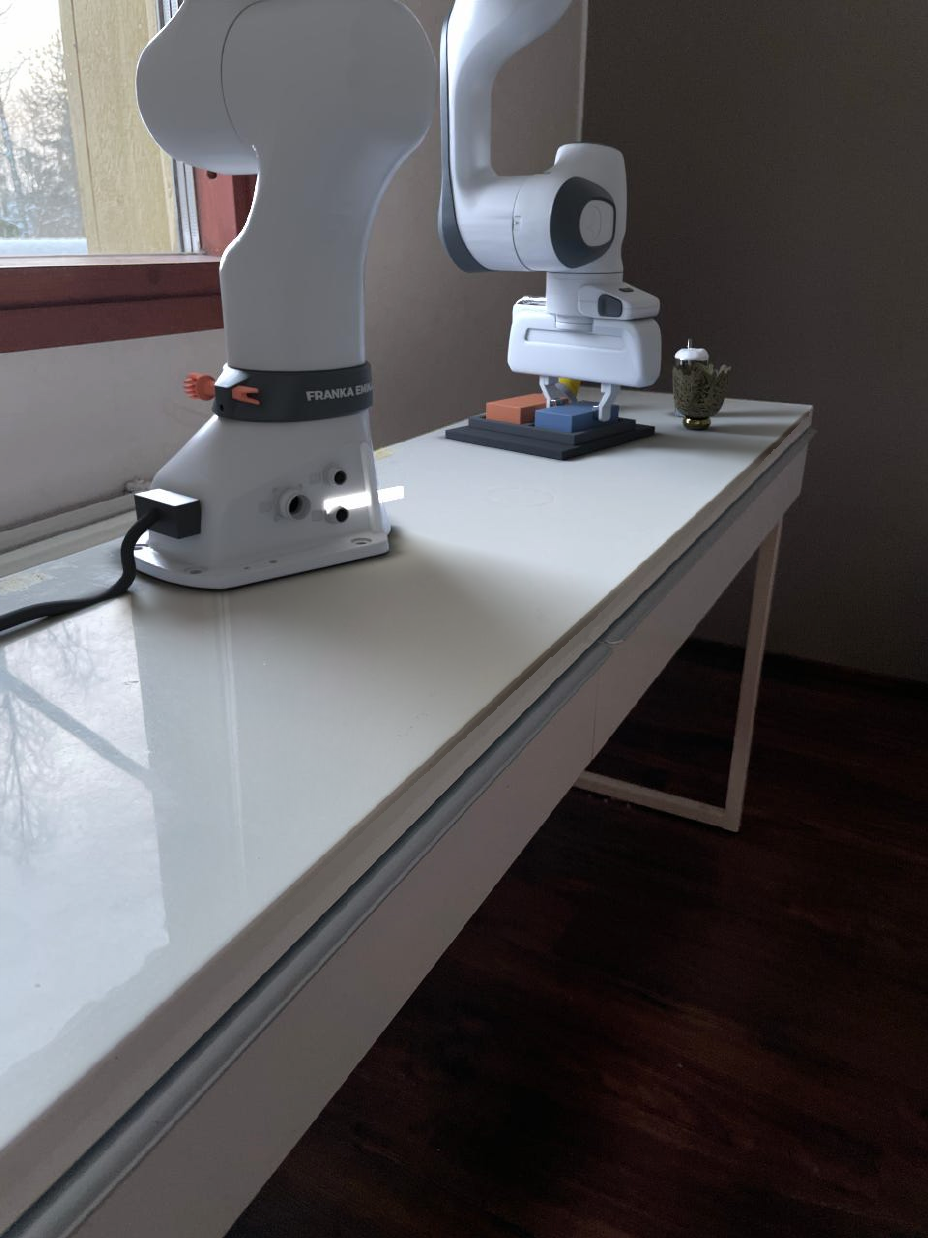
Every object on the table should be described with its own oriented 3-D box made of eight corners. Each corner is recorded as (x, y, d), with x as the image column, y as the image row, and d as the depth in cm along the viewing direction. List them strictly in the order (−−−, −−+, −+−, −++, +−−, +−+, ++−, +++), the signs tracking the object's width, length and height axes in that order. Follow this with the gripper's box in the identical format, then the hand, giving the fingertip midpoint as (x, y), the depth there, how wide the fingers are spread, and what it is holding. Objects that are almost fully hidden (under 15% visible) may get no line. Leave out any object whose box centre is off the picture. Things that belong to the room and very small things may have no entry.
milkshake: (699, 411, 137) (706, 339, 133) (704, 418, 132) (712, 343, 128) (667, 410, 137) (673, 338, 133) (671, 417, 132) (678, 342, 128)
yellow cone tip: (531, 411, 138) (570, 359, 140) (562, 430, 137) (601, 377, 139) (530, 394, 133) (571, 340, 135) (562, 413, 132) (602, 358, 133)
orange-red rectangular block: (520, 432, 117) (520, 407, 116) (486, 426, 120) (486, 402, 119) (567, 421, 124) (568, 397, 123) (534, 415, 127) (535, 393, 126)
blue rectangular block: (571, 441, 112) (572, 415, 111) (534, 434, 116) (535, 410, 115) (617, 429, 119) (619, 404, 118) (581, 423, 123) (583, 399, 121)
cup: (655, 427, 125) (660, 365, 122) (688, 420, 130) (694, 360, 127) (703, 436, 120) (710, 371, 117) (736, 428, 125) (743, 366, 122)
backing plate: (561, 460, 108) (562, 440, 107) (445, 437, 119) (445, 420, 118) (654, 433, 122) (656, 416, 121) (542, 416, 133) (542, 400, 132)
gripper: (497, 295, 116) (496, 409, 121) (643, 304, 103) (634, 431, 108) (529, 292, 120) (527, 403, 125) (673, 300, 107) (662, 423, 113)
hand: (577, 416), depth 117 cm, fingers closed on blue rectangular block, 5 cm apart
